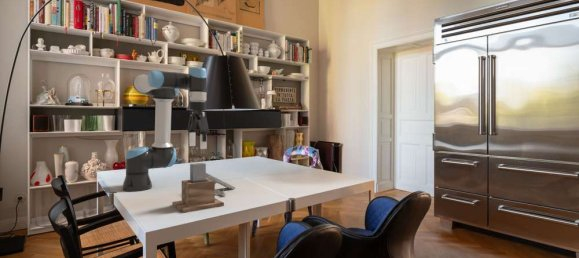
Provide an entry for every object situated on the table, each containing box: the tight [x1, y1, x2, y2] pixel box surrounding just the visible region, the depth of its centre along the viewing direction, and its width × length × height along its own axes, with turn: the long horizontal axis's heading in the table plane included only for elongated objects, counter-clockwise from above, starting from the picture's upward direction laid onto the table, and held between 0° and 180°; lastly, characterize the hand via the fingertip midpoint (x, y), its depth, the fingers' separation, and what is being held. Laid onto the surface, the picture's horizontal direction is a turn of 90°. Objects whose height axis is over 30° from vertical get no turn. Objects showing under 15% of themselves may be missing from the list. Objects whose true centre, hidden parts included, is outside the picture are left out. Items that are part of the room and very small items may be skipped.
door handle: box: [206, 172, 236, 198], centre depth 176 cm, size 18×8×20 cm
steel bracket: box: [189, 162, 207, 183], centre depth 151 cm, size 4×6×14 cm, turn 127°
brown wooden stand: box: [172, 178, 225, 214], centre depth 151 cm, size 15×19×12 cm
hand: (197, 147), depth 150 cm, fingers open, 13 cm apart
